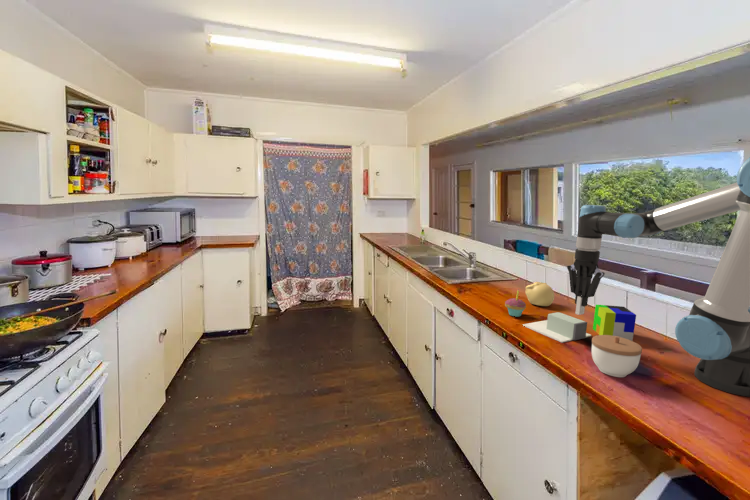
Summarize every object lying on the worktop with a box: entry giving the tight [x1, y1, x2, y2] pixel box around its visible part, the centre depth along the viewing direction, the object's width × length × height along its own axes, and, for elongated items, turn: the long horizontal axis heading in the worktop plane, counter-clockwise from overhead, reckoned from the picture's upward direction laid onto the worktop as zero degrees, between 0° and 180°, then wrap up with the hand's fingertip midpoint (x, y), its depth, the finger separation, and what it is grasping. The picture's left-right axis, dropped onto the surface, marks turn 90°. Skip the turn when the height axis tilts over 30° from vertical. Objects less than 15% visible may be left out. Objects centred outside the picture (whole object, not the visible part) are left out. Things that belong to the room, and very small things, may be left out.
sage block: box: [546, 311, 588, 341], centre depth 141 cm, size 6×6×12 cm
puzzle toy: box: [592, 304, 637, 342], centre depth 143 cm, size 10×10×10 cm
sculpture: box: [525, 281, 555, 307], centre depth 178 cm, size 12×12×11 cm
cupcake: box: [504, 289, 527, 318], centre depth 162 cm, size 9×8×12 cm
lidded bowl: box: [591, 334, 643, 378], centre depth 113 cm, size 13×13×11 cm
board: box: [522, 319, 592, 343], centre depth 146 cm, size 18×16×1 cm
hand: (579, 313), depth 136 cm, fingers closed
